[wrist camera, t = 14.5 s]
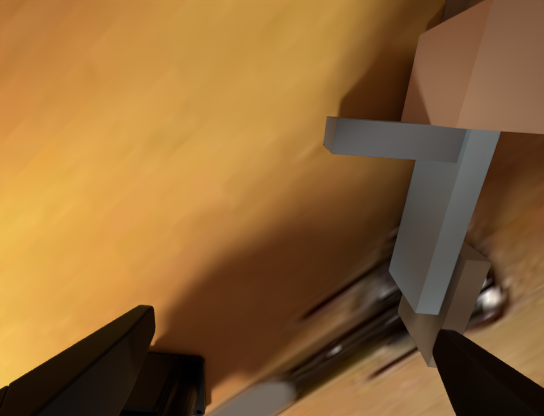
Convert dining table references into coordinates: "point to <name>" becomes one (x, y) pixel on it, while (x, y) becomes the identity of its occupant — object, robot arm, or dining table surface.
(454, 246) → the grey l-shaped bracket
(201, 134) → the dining table surface
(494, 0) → the tan rectangular block
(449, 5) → the grey-brown blocks
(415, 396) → the dining table surface
